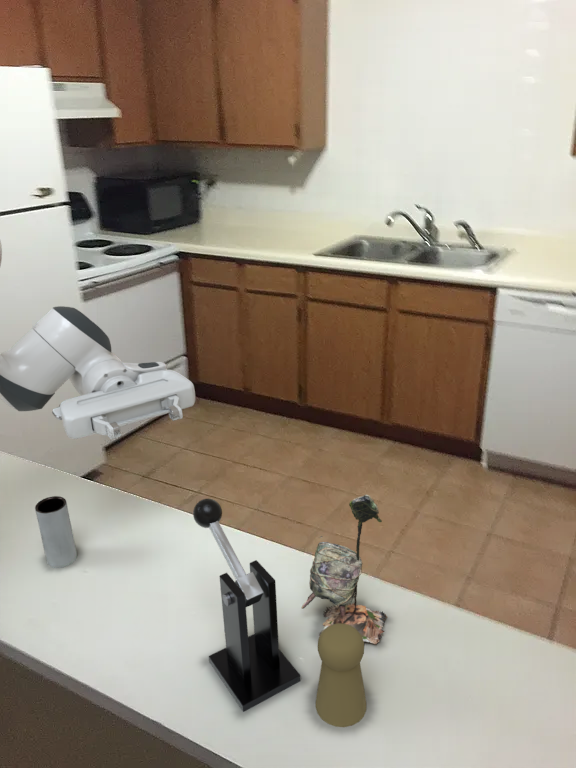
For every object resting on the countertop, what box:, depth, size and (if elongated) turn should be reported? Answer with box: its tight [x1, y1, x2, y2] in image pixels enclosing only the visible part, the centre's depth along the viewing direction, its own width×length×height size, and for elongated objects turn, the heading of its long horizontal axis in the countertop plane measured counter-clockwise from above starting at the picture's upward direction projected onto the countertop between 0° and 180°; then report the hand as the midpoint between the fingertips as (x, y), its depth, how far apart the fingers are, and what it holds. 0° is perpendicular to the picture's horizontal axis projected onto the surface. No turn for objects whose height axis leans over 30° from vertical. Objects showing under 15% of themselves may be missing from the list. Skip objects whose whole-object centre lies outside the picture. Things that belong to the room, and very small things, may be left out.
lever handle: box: [192, 498, 264, 608], centre depth 81 cm, size 14×4×4 cm, turn 33°
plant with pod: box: [301, 494, 388, 645], centre depth 86 cm, size 8×11×20 cm
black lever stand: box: [208, 559, 302, 713], centre depth 80 cm, size 9×8×15 cm
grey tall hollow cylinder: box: [34, 495, 78, 569], centre depth 102 cm, size 4×4×10 cm
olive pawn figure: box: [314, 623, 367, 728], centre depth 76 cm, size 6×6×11 cm
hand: (147, 424), depth 96 cm, fingers open, 8 cm apart
